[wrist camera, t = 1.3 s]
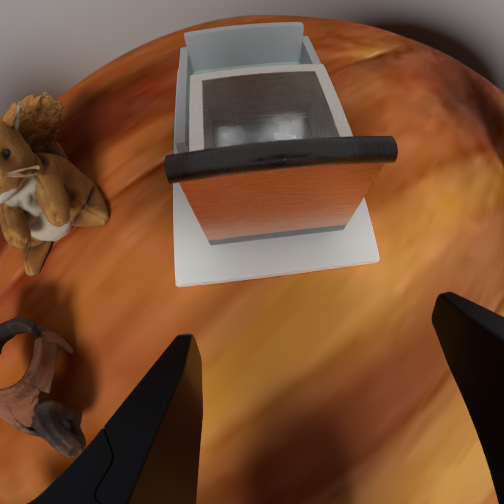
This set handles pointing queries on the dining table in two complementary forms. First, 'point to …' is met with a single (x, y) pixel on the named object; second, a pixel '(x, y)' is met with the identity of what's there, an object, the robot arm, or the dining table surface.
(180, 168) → the open bin with handle
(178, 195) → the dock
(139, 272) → the dining table surface
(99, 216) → the stuffed squirrel
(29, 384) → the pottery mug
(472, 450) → the dining table surface
